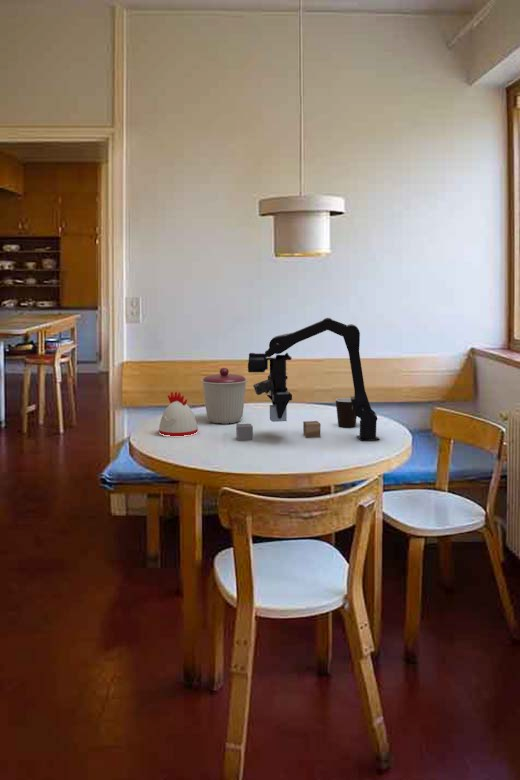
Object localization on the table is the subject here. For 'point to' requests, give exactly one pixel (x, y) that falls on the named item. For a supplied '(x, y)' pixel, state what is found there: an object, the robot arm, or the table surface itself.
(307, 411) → the table surface
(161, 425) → the kitchen timer
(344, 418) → the coffee mug
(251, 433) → the charcoal block
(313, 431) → the walnut block
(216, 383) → the canister
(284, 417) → the slate blue block
